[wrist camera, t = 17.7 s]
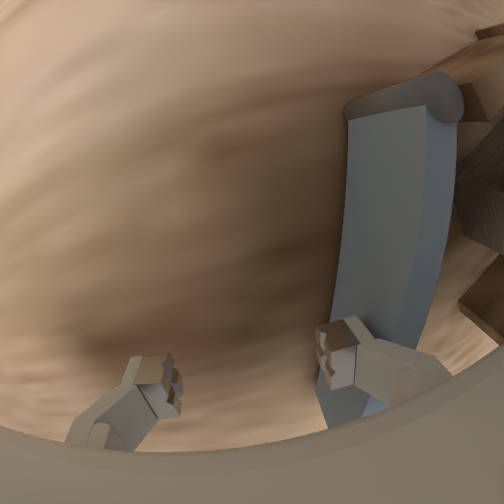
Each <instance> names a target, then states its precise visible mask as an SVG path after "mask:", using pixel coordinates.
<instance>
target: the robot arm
mask: <svg viewBox="0 0 504 504" xmlns="http://www.w3.org/2000/svg"><path fill="white" fill-rule="evenodd" d="M315 336H316V338H317V341H318V343H317V344H316V353H317V358H318V362H319V365H320V367H321V370H323V371H325V379H326V381H327V383H328V385H329V387H330V389H331V390H335V389H339V388H342V387H346V386H349V385H353V384H354V385H355V386H356V387H358V388H360V389H361V390H363V391H365V392H366V393H368V394H370V395H371V396H373V397H375V398H376V399H378V400H380V401H382V402H383V403H385V404H387V405H389V408H387V409H384V410H382V411H379V412H377V413H374V414H371V415H369V416H366V417H363V418H360V419H358V420H355V421H352V422H349V423H346V424H343V425H339V426H336V427H333V428H330V429H326V430H323V431H319V432H315V433H311V434H307V435H303V436H299V437H295V438H291V439H286V440H281V441H276V442H271V443H265V444H260V445H253V446H247V447H239V448H231V449H222V450H211V451H196V452H134V450H135V449H136V448H137V446H138V445H139V444H140V443H141V441H142V440H143V439H144V438H145V436H146V435H147V434H148V432H149V431H150V430H151V429H152V427H153V426H154V425H155V424H156V422H157V421H158V419H164V418H177V417H180V413H181V405H182V403H181V402H180V400H179V398H180V397H181V396H182V395H183V381H182V378H181V375H180V373H179V371H178V370H177V369H175V368H174V363H175V361H174V359H173V357H172V355H171V354H169V353H167V354H156V355H145V356H133V357H131V358H130V360H129V362H128V365H127V367H126V370H125V373H124V375H123V378H122V380H121V383H120V386H115V387H114V388H113V389H111V390H110V391H109V392H108V393H107V394H105V395H104V396H103V397H102V398H100V399H99V400H98V401H97V402H95V403H94V404H93V405H92V406H90V407H89V408H88V409H87V410H85V411H84V412H83V413H82V414H80V415H79V416H78V417H77V418H75V419H74V421H73V423H72V425H71V428H70V430H69V433H68V435H67V438H66V440H65V443H63V442H58V441H53V440H49V439H45V438H41V437H37V436H33V435H29V434H26V433H22V432H19V431H16V430H13V429H10V428H7V427H4V426H1V425H0V504H504V343H503V344H502V345H500V346H499V347H497V348H496V349H495V350H493V351H492V352H490V353H489V354H487V355H486V356H485V357H483V358H482V359H480V360H479V361H477V362H475V363H474V364H472V365H471V366H469V367H468V368H466V369H464V370H463V371H461V372H459V373H458V374H456V375H454V376H452V375H451V373H450V372H449V371H448V370H447V369H446V368H445V367H444V366H443V365H442V363H441V362H440V361H439V360H438V359H437V358H436V357H435V356H433V355H429V354H426V353H423V352H420V351H417V350H414V349H410V348H407V347H404V346H401V345H398V344H395V343H392V342H389V341H386V340H383V339H380V338H378V339H375V338H374V337H373V336H372V334H371V333H370V332H369V331H368V329H367V328H366V327H365V326H364V324H363V323H362V322H361V321H360V319H359V318H358V317H357V316H356V315H353V316H350V317H347V318H343V319H342V320H338V321H334V322H331V323H327V324H323V325H319V326H315Z"/></svg>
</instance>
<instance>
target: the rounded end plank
mask: <svg viewBox="0 0 504 504" xmlns="http://www.w3.org/2000/svg"><path fill="white" fill-rule="evenodd" d="M463 113H464V100H463V96H462V93H461V91H460V89H459V87H458V85H457V84H456V82H455V81H454V80H453V79H452V78H451V77H450V76H449V75H447V74H446V73H443V72H435V73H431V74H428V75H424V76H421V77H418V78H414V79H411V80H408V81H405V82H402V83H399V84H396V85H393V86H390V87H387V88H384V89H381V90H378V91H375V92H373V93H370V94H367V95H365V96H362V97H359V98H357V99H354V100H352V101H350V102H348V103H347V104H346V106H345V108H344V117H345V120H346V122H347V124H348V160H347V180H346V195H345V208H344V219H343V229H342V239H341V248H340V256H339V264H338V271H337V278H336V285H335V292H334V298H333V304H332V310H331V316H330V322H329V323H331V322H334V321H338V320H342V319H343V318H347V317H350V316H353V315H356V316H357V317H358V318H359V319H360V321H361V322H362V323H363V324H364V326H365V327H366V328H367V329H368V331H369V332H370V333H371V334H372V336H373V337H374V338H375V339H378V338H380V339H383V340H386V341H389V342H392V343H395V344H398V345H401V346H404V347H407V348H410V349H414V350H415V349H416V347H417V344H418V341H419V339H420V336H421V333H422V330H423V328H424V325H425V322H426V319H427V316H428V313H429V309H430V306H431V303H432V300H433V296H434V293H435V289H436V285H437V282H438V278H439V274H440V270H441V266H442V261H443V257H444V252H445V247H446V242H447V237H448V231H449V225H450V219H451V212H452V204H453V195H454V185H455V173H456V153H457V122H458V121H460V119H461V118H462V116H463ZM315 392H316V395H317V398H318V401H319V403H320V406H321V409H322V412H323V415H324V418H325V421H326V424H327V426H328V429H330V428H333V427H336V426H339V425H343V424H346V423H349V422H352V421H355V420H358V419H360V418H363V417H366V416H369V415H371V414H374V413H377V412H379V411H382V410H384V409H387V408H389V405H387V404H385V403H383V402H382V401H380V400H378V399H376V398H375V397H373V396H371V395H370V394H368V393H366V392H365V391H363V390H361V389H360V388H358V387H356V386H355V385H354V384H353V385H349V386H346V387H342V388H339V389H335V390H331V389H330V387H329V385H328V383H327V381H326V379H325V371H323V370H321V367H320V371H319V376H318V380H317V384H316V388H315Z"/></svg>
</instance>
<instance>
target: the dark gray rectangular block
mask: <svg viewBox="0 0 504 504" xmlns="http://www.w3.org/2000/svg"><path fill="white" fill-rule="evenodd" d="M453 201H454V204H455V207H456V210H457V213H458V216H459V219H460V222H461V225H462V229H463V232H464V236H465V237H467V238H469V239H471V240H474V241H476V242H478V243H480V244H482V245H484V246H486V247H488V248H490V249H492V250H494V251H496V252H498V253H500V254H501V255H503V256H504V118H503V119H502V120H501V121H500V122H499V123H498V124H497V125H496V126H495V127H494V129H493V130H492V131H491V132H490V133H489V134H488V135H487V136H486V137H485V138H484V139H483V140H482V141H481V142H480V143H479V144H478V146H477V147H476V148H475V149H474V150H473V151H472V152H471V153H470V154H469V155H468V156H467V157H466V158H465V159H464V160H463V161H462V162H461V163H460V164H459V165H458V166H457V167H456V173H455V185H454V195H453Z"/></svg>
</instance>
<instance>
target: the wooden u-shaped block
mask: <svg viewBox="0 0 504 504" xmlns="http://www.w3.org/2000/svg"><path fill="white" fill-rule="evenodd" d="M475 33H476V35H477V36H478V38H479V39H480V40H479V41H477V42H475V43H473V44H472V45H470V46H468V47H466V48H464V49H463V50H461V51H459V52H457V53H456V54H454V55H452V56H450V57H449V58H447V59H445V60H443V61H442V62H440V63H438V64H437V65H435V66H433V67H432V68H430V69H428V70H427V71H425V72H423V73H422V74H420V75H418V76H417V77H415V78H418V77H421V76H424V75H428V74H431V73H435V72H443V73H446V74H447V75H449V76H450V77H451V78H452V79H453V80H454V81H455V82H456V84H457V85H458V87H459V89H460V91H461V93H462V96H463V100H464V113H463V116H462V118H461V119H460V121H458V122H489V121H490V120H491V119H492V118H493V117H494V116H495V115H496V114H497V113H498V112H499V111H500V110H501V109H502V107H503V106H504V23H503V24H499V25H495V26H491V27H488V28H484V29H481V30H479V31H477V32H475ZM459 305H460V310H461V312H462V313H463V314H464V315H465V316H467V317H468V318H469V319H470V320H471V321H472V322H474V323H475V324H476V325H477V326H478V327H479V328H481V329H482V330H483V331H484V332H485V333H486V334H487V335H488V336H490V337H491V338H492V339H493V340H494V341H495V342H496V343H497V344H498V345H502V344H503V343H504V256H503V255H501V254H500V255H499V256H498V257H497V259H496V260H495V261H494V262H493V263H492V265H491V266H490V267H489V268H488V269H487V271H486V272H485V273H484V274H483V275H482V276H481V277H480V279H479V280H478V281H477V282H476V283H475V284H474V285H473V286H472V287H471V288H470V289H469V291H468V292H467V293H466V294H465V295H464V296H463V297H462V298H461V299H460V300H459Z"/></svg>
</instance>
